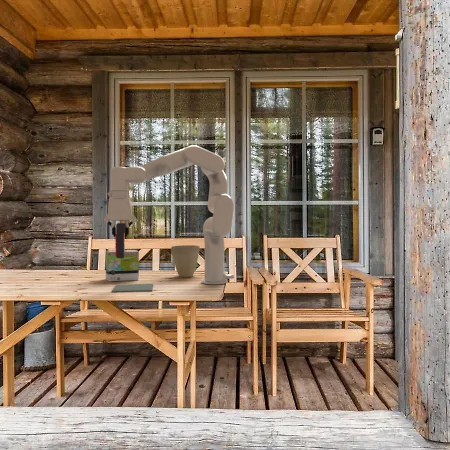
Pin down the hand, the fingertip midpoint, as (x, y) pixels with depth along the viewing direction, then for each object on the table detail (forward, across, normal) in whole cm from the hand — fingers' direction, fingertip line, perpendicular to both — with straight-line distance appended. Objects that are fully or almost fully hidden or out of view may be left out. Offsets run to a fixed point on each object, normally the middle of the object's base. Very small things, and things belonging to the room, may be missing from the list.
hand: (120, 236), depth 196 cm
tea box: (+24, -2, +26) cm, 35 cm away
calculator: (+10, 0, 0) cm, 10 cm away
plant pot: (+24, +30, +33) cm, 50 cm away
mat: (+23, +5, 0) cm, 24 cm away
